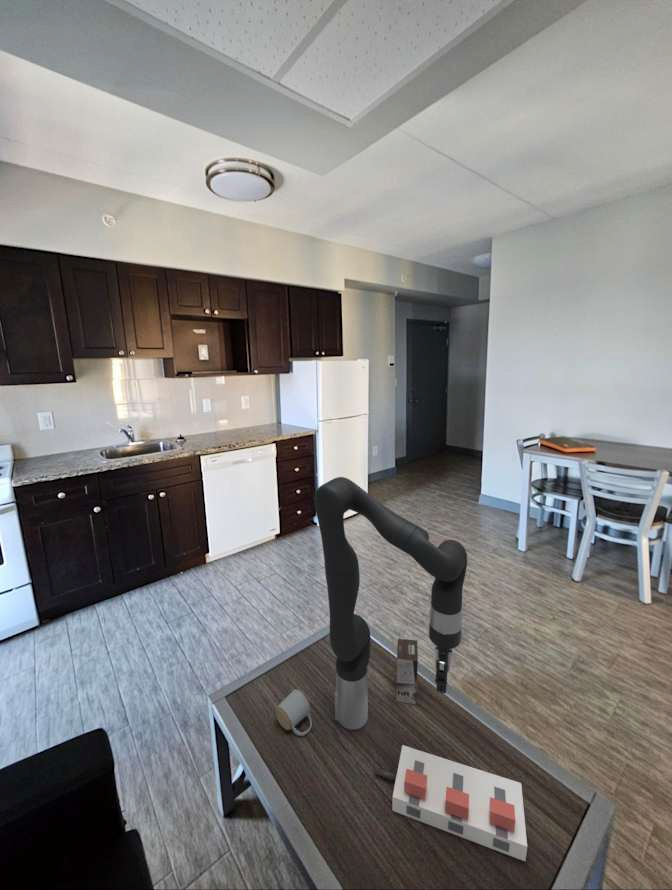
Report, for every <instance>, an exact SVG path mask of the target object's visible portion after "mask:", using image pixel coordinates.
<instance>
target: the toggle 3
mask: <svg viewBox="0 0 672 890" xmlns="http://www.w3.org/2000/svg"><path fill="white" fill-rule="evenodd" d="M489 823H490V824H493V825H496V826H499V827H501V828H504V829H507V830H510V831H512V832H514V828H515V808H514V805H512V804H509V803H506V802H503V801H501V800H498V799H495V798H492V797H490V804H489Z"/></svg>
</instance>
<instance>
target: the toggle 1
mask: <svg viewBox="0 0 672 890" xmlns="http://www.w3.org/2000/svg"><path fill="white" fill-rule="evenodd" d="M426 791H427V775H424V774H421V773H418V772H415V771H412V770H409V769H406V775H405V780H404V792H405V793H407V794H410V795H413V796H416V797H418V798H421V799H424V800H425V799H426Z"/></svg>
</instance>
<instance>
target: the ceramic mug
mask: <svg viewBox="0 0 672 890" xmlns="http://www.w3.org/2000/svg"><path fill="white" fill-rule="evenodd" d="M310 712H311V706H310V703H309V701H308V699H307V697H306V696H305V694H304V693H303V692H302V691H300V690H299V689H293V690H292V691H291V692H290V693H289V694H288V695H287V696H286V697H285V698H284V699H283V700H282V701H281V702H280V703H279V704H278V705H277V707H276V709H275V716H276V719H277V721H278V723H279V725H280V726H281V727H282V728H283V729H284V730H286V731H291V730H292V731H293V732H294V734H295V735H297V736H300V737H303V736H304V737H305V736H306V735H308V734H309V732H310V731H311V729H312V726H313V723H312V721H313V720H312V717H311V715H310ZM306 717H307V718H308V721H309V727H308V729H306V730H304V731H302V732H300V731H298V730H297V728H296V726H297V725H298V724H299V723H300V722H301V721H303V719H305V718H306Z"/></svg>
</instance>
